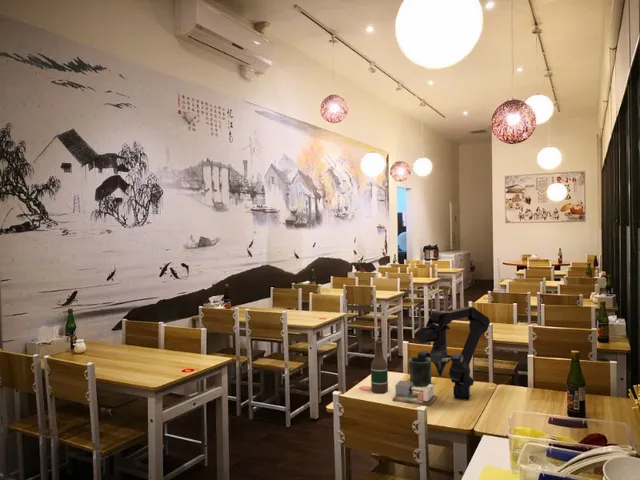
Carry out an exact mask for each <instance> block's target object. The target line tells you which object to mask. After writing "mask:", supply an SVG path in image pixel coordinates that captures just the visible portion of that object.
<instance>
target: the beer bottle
mask: <svg viewBox="0 0 640 480" xmlns="http://www.w3.org/2000/svg"><path fill="white" fill-rule="evenodd" d="M374 345H375V346H374V347H375V348H374V357H373V359H372V360H371V364H370V382H371V384H370V387H371V392H372V393H373V394H377V395H378V394H379V395H382V394H386V393H387V392H388V389H389V385H388V384H389V383H388V382H389V381H388V379H389V377H388V375H389V371H388V364H387V360H386V359H385V358H384V351H383V350H384V349H383V340H380V339H376V340H375V341H374Z"/></svg>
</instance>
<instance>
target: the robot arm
mask: <svg viewBox="0 0 640 480" xmlns="http://www.w3.org/2000/svg"><path fill="white" fill-rule="evenodd" d="M429 316H430V317H429V319H428V321H427V322H426V324H425V326H422V327H420V330H419V331H418V333H417V340H418V342H420V344H427V343H432V348H431V350H427V349H426V350H424V349H421V350H420V351H419V352H418V353H417V357H418V359H425V358H429V359H431V363H433V364H434V366H435V368H436V371H437V374H438V376H439V377H442V375H443V373H444V370H445V367H446V365H447V364H448V363H449V362H450V361H451V366H450V367H449V371H448V372H449V373H448V375H449V378H450V380H451V383H453V384H454V386H453V399H456V400H465V401H469V400H470V399H471V397H472V394H471V387H472V386H473V385H474V382H475V381H474V379H473V378H472V376H470V374H471V368H470V364H471V361H472V359H473V356H474V353H475V351H476V348H477V346H478V344H479V340H480V338H481V336H482V335H483V334H485V333H486V332H487V330H488V329H489V327H490V324H491V321H490V319H489V317H488V316H486V315H485V314H483V313H482V312H480V311H479V310H478V309H477V308H476V307H474V306H468V305H465V306H464V307H460V308H456V309H452V310H446V311H444V310H433V311H432V312H431V314H430V315H429ZM463 318H466V319H467V321H468V322H469V323H468V328H469V333H468V336H467V338H466V341H465V343H464V346H463V348H462V351H461V352H460V353H457V352H453V353H452V354H448V350H447V346H448V341H447V338H448V337H447V336H448V335H447V330H451V327H450V326H449V325H450V324H451V323H452V322H453V321H456V320H459V319H463Z"/></svg>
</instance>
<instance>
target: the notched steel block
mask: <svg viewBox="0 0 640 480" xmlns="http://www.w3.org/2000/svg"><path fill="white" fill-rule="evenodd" d="M412 387H414V385H413V382H410V381H406V380H399V381H398V382H397V383H396V384H395V396H400V397H408V398H409V397H410V394H413V392H414V391H411V388H412Z"/></svg>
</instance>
